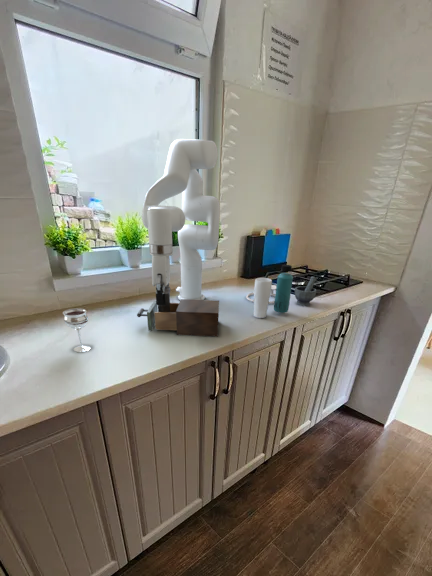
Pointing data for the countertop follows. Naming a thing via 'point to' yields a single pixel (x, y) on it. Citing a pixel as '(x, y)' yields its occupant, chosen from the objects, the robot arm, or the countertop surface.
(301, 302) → the mortar and pestle
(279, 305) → the beverage bottle
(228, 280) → the countertop surface
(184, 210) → the robot arm
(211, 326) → the cabinet
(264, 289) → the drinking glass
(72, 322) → the wineglass
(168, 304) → the pepper mill
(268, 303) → the hand towel holder
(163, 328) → the drawer
